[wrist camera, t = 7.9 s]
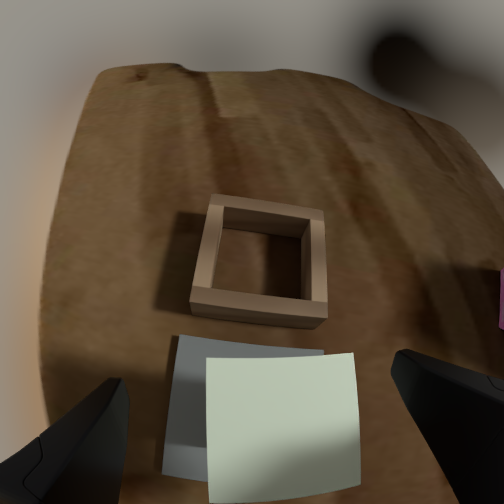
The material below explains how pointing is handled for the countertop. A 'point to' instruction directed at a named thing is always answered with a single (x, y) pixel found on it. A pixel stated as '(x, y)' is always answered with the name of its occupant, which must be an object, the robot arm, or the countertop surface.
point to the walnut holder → (253, 305)
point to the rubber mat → (202, 400)
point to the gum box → (502, 301)
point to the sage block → (281, 427)
